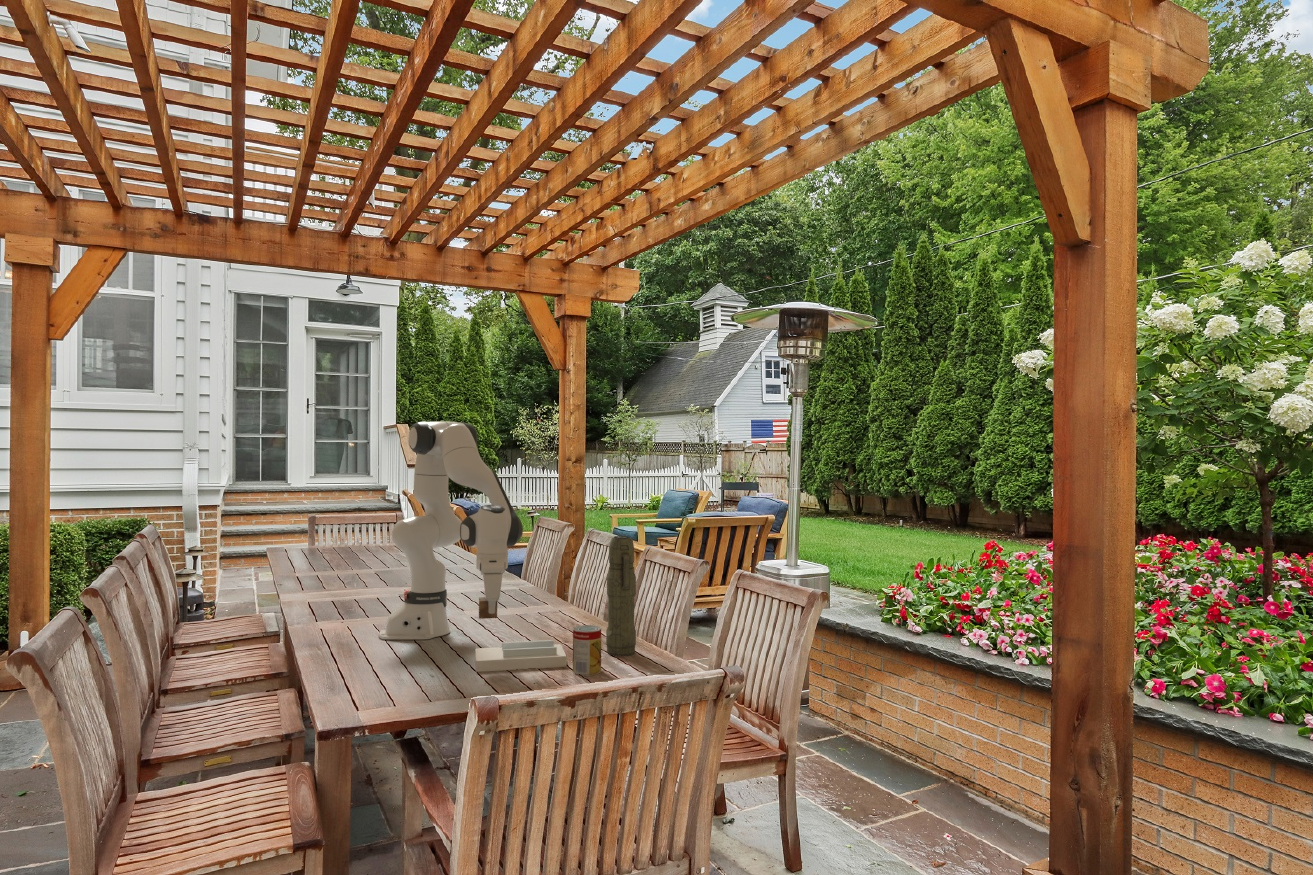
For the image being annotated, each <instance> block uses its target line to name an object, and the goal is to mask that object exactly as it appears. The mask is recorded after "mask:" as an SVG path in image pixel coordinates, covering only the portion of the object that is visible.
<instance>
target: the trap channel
mask: <svg viewBox="0 0 1313 875" xmlns="http://www.w3.org/2000/svg"><path fill="white" fill-rule="evenodd" d="M474 650H475V652H474V653H475V654H474V658H475V659H474V660H475V661H474V662H475V672H476V673H482V672H496V671H497V672H499V671H513V670H515V671H517V670H516V669H518V670H529V669H528V668H536V669H548V668H549V669H551V668H553V669H554V668H565V667H566V668H567V655H566V652H565V650H564V648H563V646H562V644H559V643H558V644H556V643H555V642H554V639H547V640H546V639H545V640H544V639H543V640H526V641H525V640H523V641H522V640H521V641H507V642H506V641H505V642H501V647H496V646H495V647H481V648H479V647H477V648H475V649H474Z"/></svg>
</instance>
